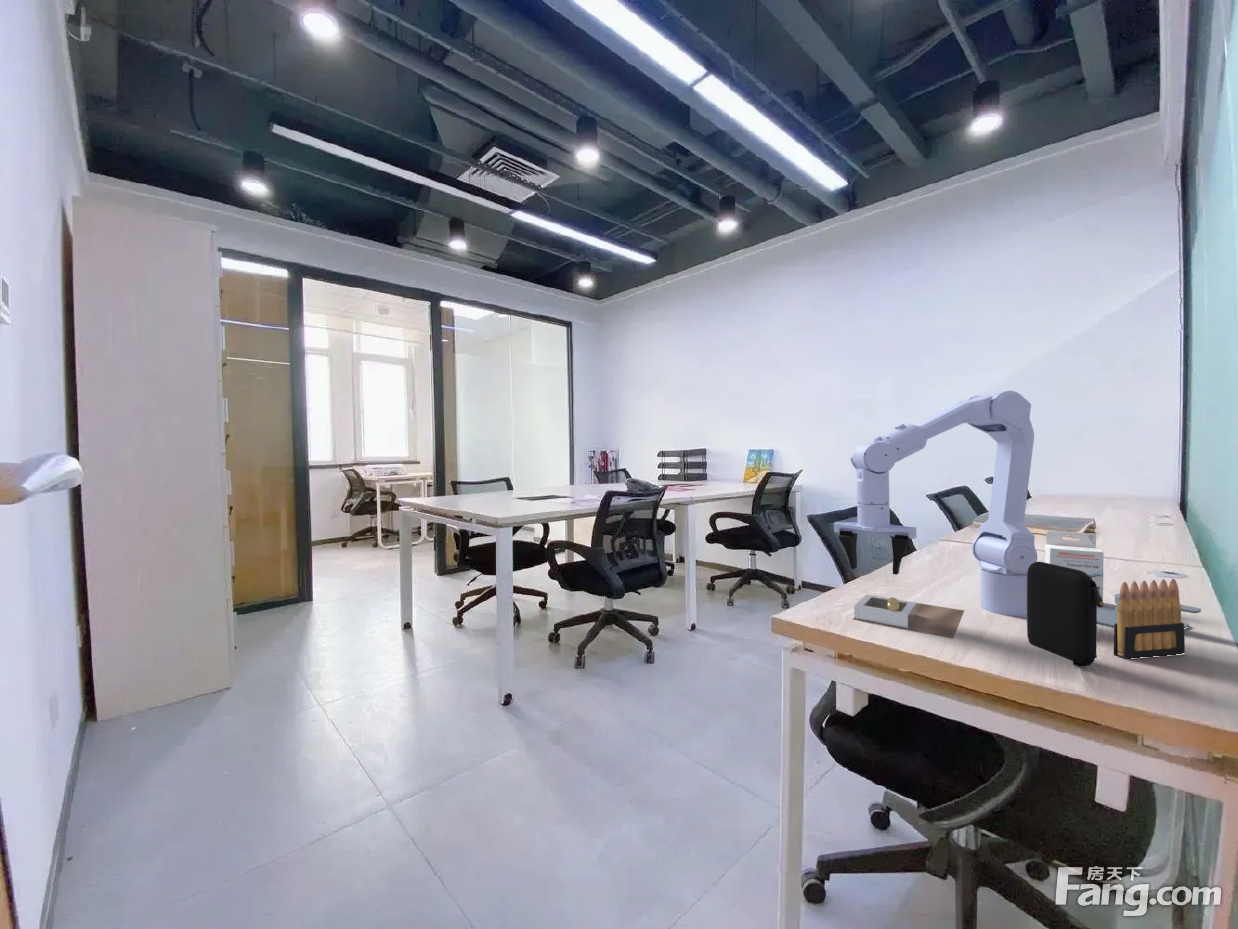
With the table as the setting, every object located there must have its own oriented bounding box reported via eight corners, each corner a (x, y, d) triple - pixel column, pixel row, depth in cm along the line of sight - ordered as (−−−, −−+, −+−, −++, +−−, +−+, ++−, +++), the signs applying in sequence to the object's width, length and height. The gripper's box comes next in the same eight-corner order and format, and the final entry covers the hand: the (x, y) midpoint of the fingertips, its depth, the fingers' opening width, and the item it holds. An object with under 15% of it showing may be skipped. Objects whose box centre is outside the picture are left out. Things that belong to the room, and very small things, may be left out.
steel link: (916, 615, 94) (916, 602, 94) (907, 628, 87) (907, 615, 87) (866, 606, 100) (866, 594, 100) (854, 618, 93) (854, 605, 93)
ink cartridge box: (1048, 602, 103) (1048, 533, 102) (1043, 596, 107) (1043, 530, 107) (1104, 608, 98) (1104, 536, 98) (1096, 601, 103) (1096, 532, 102)
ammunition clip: (1126, 660, 75) (1126, 583, 75) (1112, 655, 77) (1112, 580, 77) (1185, 655, 76) (1186, 580, 76) (1170, 650, 78) (1171, 577, 78)
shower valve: (1184, 615, 80) (1069, 592, 94) (1184, 647, 80) (1069, 619, 94) (1213, 603, 85) (1101, 583, 99) (1213, 633, 85) (1101, 609, 99)
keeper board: (963, 615, 96) (963, 610, 96) (952, 644, 83) (952, 638, 83) (875, 600, 107) (875, 596, 107) (852, 624, 93) (852, 619, 93)
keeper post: (900, 617, 93) (900, 597, 93) (898, 620, 91) (897, 599, 91) (888, 615, 94) (888, 595, 94) (886, 618, 93) (886, 598, 93)
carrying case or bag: (1110, 674, 71) (1110, 574, 70) (1092, 676, 70) (1093, 575, 70) (1037, 645, 81) (1036, 558, 81) (1021, 647, 81) (1021, 559, 80)
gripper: (829, 503, 98) (830, 569, 98) (911, 507, 89) (912, 580, 89) (839, 500, 103) (840, 563, 104) (917, 503, 94) (918, 572, 94)
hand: (874, 570), depth 97 cm, fingers open, 7 cm apart
